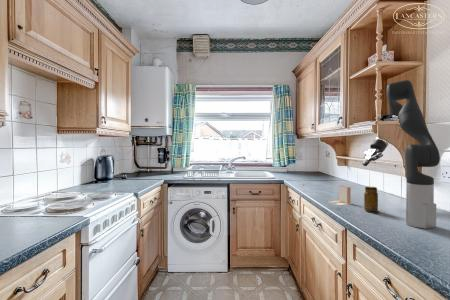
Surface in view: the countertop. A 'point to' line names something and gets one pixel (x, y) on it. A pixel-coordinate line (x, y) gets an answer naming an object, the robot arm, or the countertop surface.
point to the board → (339, 203)
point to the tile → (345, 194)
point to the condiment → (371, 200)
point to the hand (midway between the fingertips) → (364, 165)
